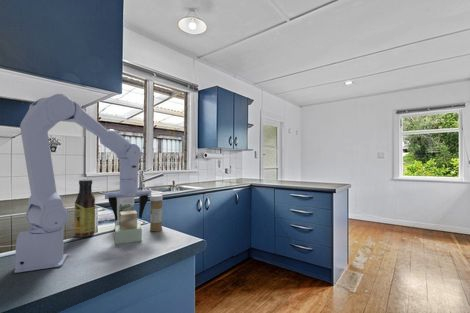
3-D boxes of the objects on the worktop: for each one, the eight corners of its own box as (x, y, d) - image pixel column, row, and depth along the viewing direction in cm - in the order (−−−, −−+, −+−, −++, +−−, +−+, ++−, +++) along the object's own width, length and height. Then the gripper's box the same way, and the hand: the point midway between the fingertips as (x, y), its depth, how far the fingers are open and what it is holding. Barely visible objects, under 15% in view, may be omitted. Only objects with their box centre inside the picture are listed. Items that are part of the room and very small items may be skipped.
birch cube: (120, 230, 82) (121, 214, 82) (119, 226, 86) (120, 211, 86) (137, 228, 84) (137, 213, 84) (135, 224, 89) (135, 210, 89)
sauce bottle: (73, 234, 89) (74, 179, 89) (93, 231, 93) (94, 178, 93) (75, 239, 84) (75, 180, 84) (96, 236, 88) (96, 179, 88)
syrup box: (129, 225, 103) (130, 189, 103) (134, 228, 98) (134, 191, 98) (114, 227, 99) (115, 190, 99) (118, 230, 94) (119, 192, 94)
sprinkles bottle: (151, 228, 98) (151, 194, 98) (163, 228, 98) (163, 194, 98) (148, 231, 93) (148, 196, 93) (161, 231, 94) (161, 195, 94)
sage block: (115, 244, 80) (115, 231, 80) (115, 236, 87) (115, 225, 87) (141, 240, 83) (141, 228, 83) (139, 234, 91) (140, 223, 91)
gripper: (105, 180, 78) (104, 223, 78) (152, 179, 85) (152, 218, 85) (105, 178, 85) (104, 218, 85) (149, 177, 91) (149, 214, 91)
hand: (128, 218), depth 85 cm, fingers open, 7 cm apart
